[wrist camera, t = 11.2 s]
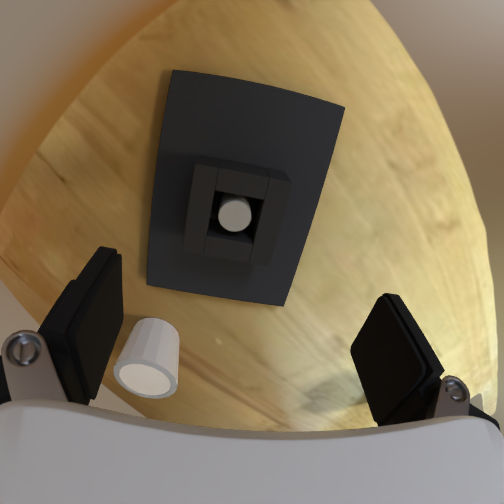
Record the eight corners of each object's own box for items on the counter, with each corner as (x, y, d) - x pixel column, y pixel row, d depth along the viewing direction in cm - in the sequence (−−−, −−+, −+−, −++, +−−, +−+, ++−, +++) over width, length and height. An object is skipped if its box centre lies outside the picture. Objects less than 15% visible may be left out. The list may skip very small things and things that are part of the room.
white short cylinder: (193, 351, 35) (187, 397, 29) (143, 357, 35) (132, 401, 29) (171, 308, 32) (160, 355, 25) (119, 318, 32) (101, 362, 26)
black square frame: (200, 154, 23) (194, 163, 20) (285, 171, 24) (292, 182, 21) (187, 232, 26) (181, 251, 23) (265, 246, 27) (269, 266, 24)
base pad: (175, 70, 21) (162, 64, 17) (340, 106, 23) (362, 109, 19) (149, 278, 30) (137, 306, 26) (282, 299, 32) (288, 329, 28)
